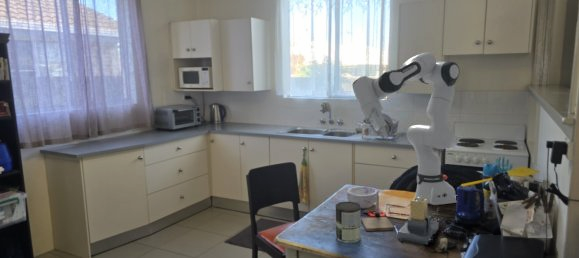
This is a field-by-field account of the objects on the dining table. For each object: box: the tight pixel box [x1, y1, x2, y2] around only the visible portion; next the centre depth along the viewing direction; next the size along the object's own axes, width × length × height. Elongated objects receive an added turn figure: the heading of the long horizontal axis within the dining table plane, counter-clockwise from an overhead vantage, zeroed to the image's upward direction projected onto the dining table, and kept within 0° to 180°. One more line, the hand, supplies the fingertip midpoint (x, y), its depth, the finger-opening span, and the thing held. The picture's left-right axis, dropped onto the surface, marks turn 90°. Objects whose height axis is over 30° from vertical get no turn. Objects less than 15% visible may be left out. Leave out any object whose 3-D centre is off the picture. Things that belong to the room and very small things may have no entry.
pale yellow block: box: [409, 196, 428, 221], centre depth 172 cm, size 5×5×8 cm
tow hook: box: [367, 190, 387, 218], centre depth 195 cm, size 8×13×9 cm
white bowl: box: [346, 186, 378, 209], centre depth 209 cm, size 15×15×8 cm
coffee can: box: [335, 201, 362, 244], centre depth 170 cm, size 10×10×14 cm
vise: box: [397, 196, 440, 246], centre depth 172 cm, size 18×12×16 cm, turn 147°
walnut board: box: [360, 216, 395, 232], centre depth 184 cm, size 12×12×1 cm
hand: (385, 137), depth 186 cm, fingers open, 8 cm apart
